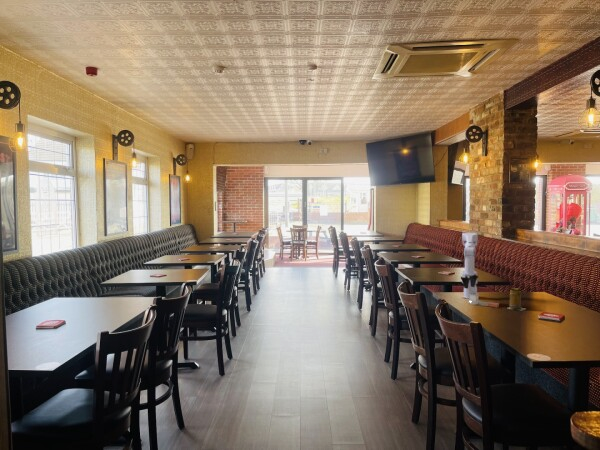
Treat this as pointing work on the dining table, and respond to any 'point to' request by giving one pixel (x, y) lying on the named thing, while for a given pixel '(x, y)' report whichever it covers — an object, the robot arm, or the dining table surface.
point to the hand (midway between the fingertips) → (469, 287)
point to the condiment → (515, 299)
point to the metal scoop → (483, 303)
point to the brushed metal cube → (473, 297)
